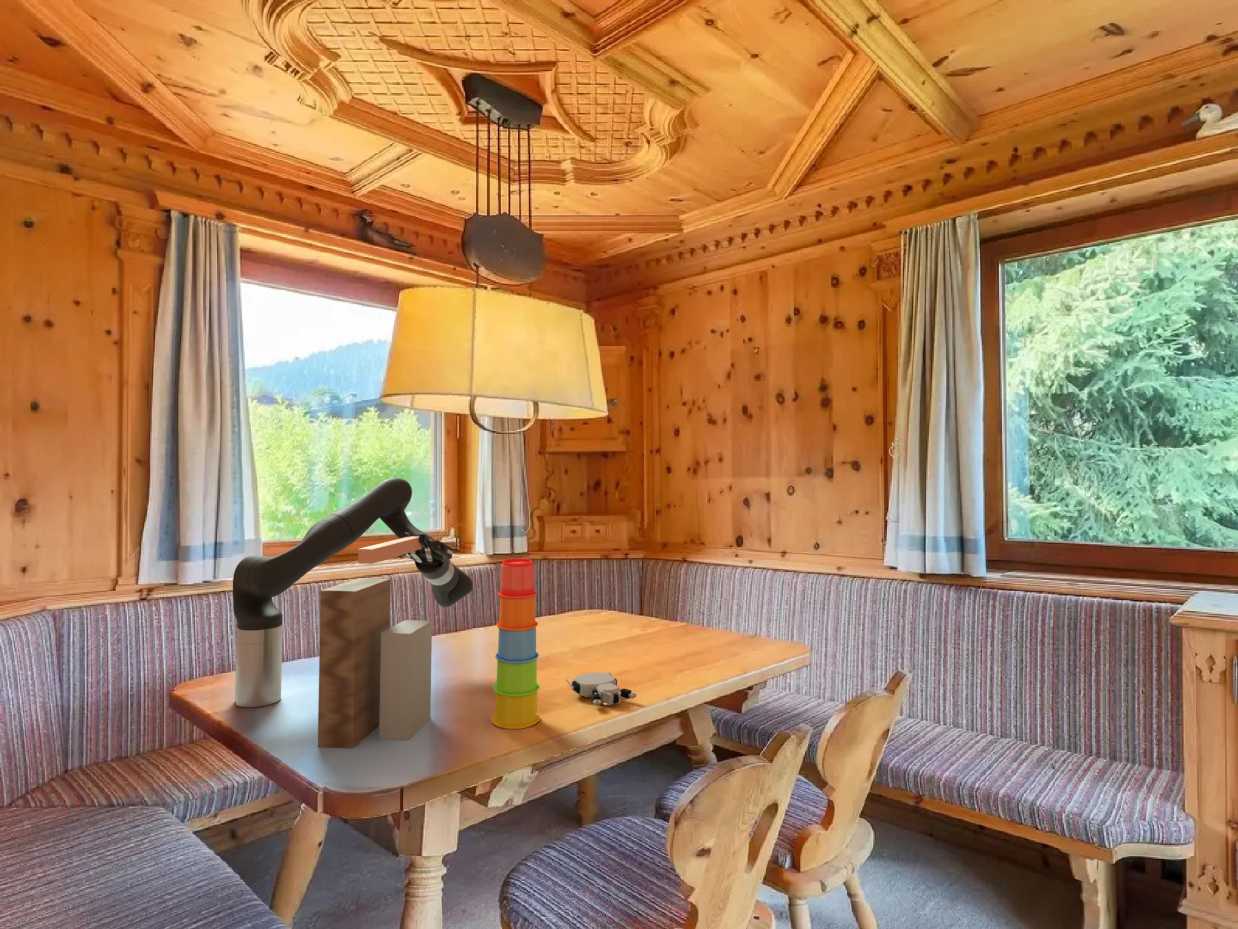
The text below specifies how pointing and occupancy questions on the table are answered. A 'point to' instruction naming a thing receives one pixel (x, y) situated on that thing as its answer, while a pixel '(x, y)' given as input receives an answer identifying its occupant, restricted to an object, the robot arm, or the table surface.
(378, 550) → the terracotta bar
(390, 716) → the taupe pedestal
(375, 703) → the walnut post
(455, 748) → the table surface
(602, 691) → the robot toy
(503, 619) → the stacking cups
